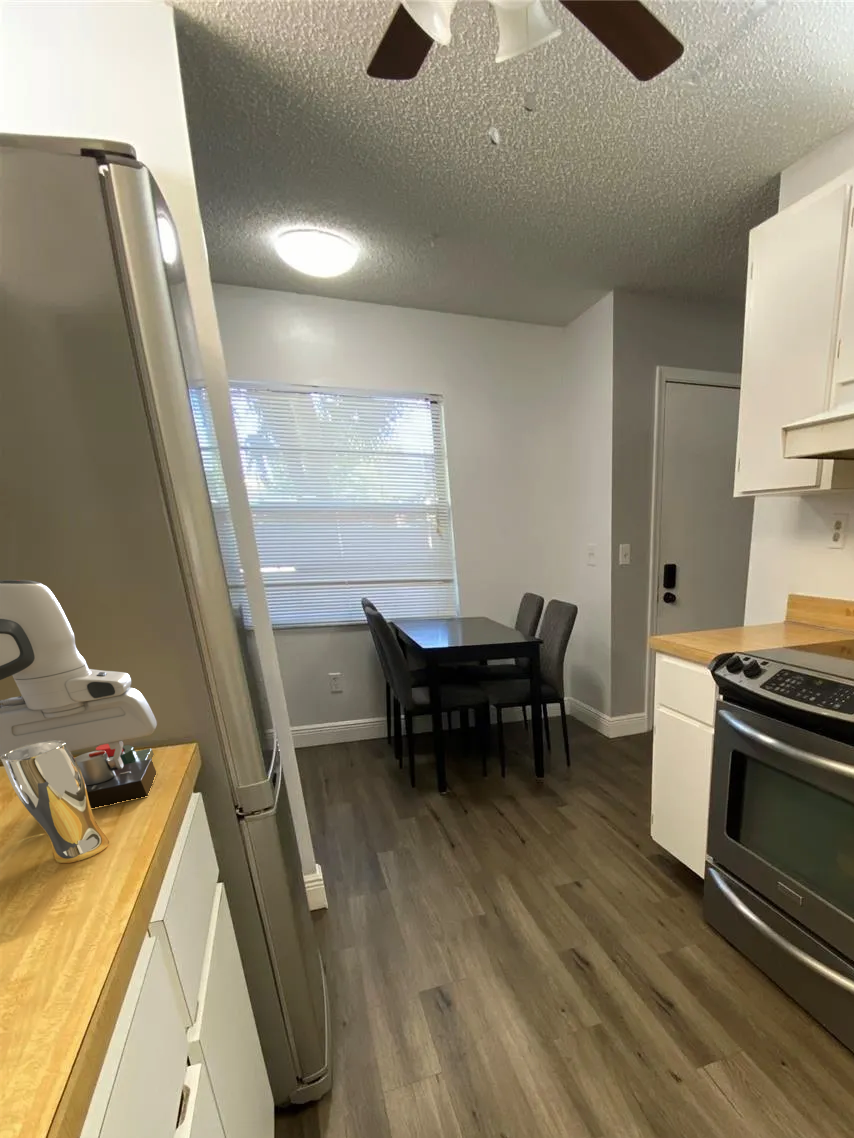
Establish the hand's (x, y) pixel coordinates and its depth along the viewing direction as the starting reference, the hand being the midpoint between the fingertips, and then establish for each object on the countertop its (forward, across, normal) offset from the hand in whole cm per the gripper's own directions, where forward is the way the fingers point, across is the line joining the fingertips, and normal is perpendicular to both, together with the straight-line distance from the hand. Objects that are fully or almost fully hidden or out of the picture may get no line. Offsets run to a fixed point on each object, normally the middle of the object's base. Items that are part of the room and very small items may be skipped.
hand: (97, 772), depth 101 cm
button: (+1, 0, +10) cm, 10 cm away
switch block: (+4, 0, +10) cm, 11 cm away
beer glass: (+4, +1, -20) cm, 20 cm away
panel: (+4, 0, 0) cm, 4 cm away
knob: (+1, 0, 0) cm, 1 cm away
